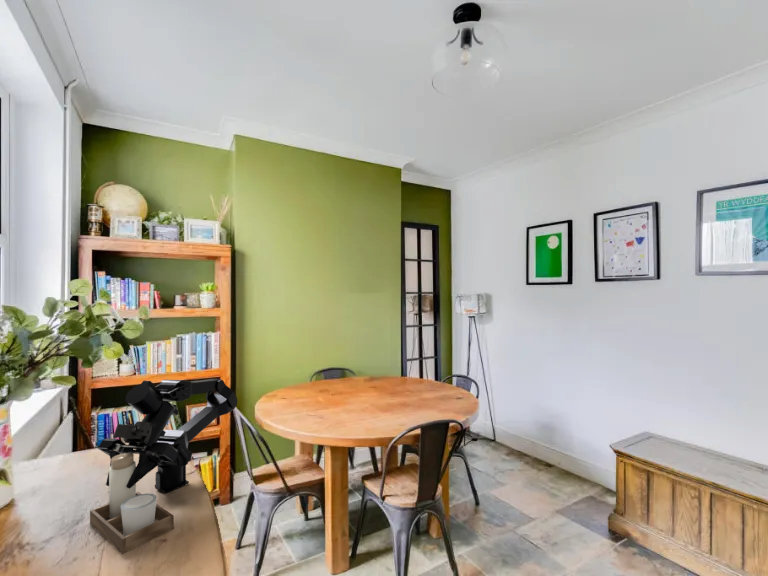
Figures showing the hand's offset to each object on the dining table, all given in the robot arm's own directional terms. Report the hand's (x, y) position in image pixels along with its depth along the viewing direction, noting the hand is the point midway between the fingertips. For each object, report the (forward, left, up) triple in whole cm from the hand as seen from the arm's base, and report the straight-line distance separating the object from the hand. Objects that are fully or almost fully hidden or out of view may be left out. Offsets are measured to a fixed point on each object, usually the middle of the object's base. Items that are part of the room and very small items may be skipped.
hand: (117, 486), depth 89 cm
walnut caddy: (-1, +4, -8) cm, 9 cm away
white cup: (-1, +8, -8) cm, 12 cm away
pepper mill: (-1, -1, -7) cm, 7 cm away
